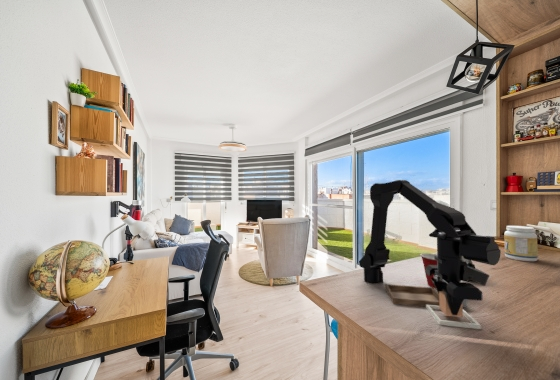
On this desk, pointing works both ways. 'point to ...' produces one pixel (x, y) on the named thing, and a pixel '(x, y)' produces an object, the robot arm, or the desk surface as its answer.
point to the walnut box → (412, 295)
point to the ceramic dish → (453, 323)
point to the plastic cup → (429, 260)
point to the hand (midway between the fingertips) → (450, 310)
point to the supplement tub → (521, 243)
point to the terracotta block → (445, 308)
